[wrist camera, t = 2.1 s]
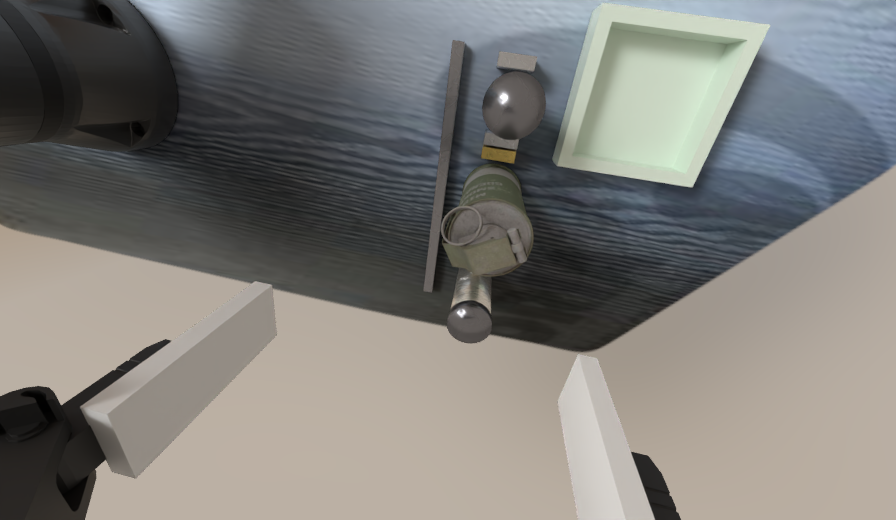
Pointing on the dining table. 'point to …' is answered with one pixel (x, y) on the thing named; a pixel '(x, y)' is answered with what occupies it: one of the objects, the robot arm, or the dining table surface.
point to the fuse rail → (509, 119)
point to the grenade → (489, 224)
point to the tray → (653, 92)
